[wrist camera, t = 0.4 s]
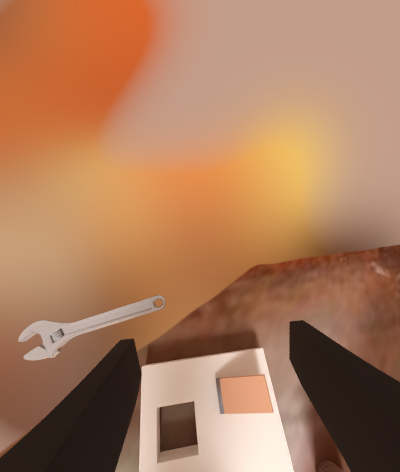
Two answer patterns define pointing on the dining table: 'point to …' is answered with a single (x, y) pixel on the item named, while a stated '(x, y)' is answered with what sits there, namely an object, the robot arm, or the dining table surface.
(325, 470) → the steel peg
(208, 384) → the plate
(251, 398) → the block
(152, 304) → the adjustable wrench
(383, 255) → the dining table surface
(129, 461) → the dining table surface
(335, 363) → the robot arm
